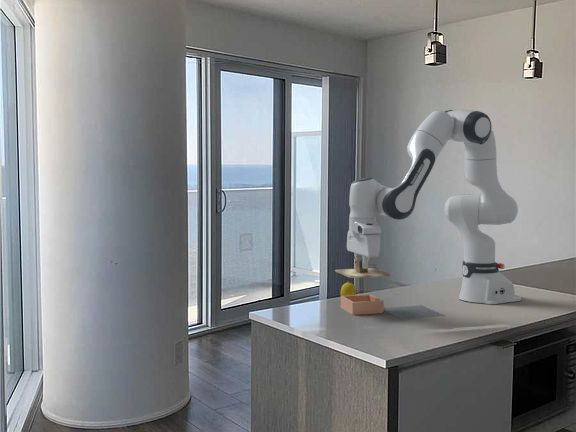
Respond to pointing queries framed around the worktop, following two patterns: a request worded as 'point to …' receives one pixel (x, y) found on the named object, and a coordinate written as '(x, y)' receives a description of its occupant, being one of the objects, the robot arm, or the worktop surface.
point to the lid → (361, 271)
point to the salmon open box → (362, 304)
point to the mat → (412, 312)
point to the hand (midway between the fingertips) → (362, 267)
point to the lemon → (348, 289)
